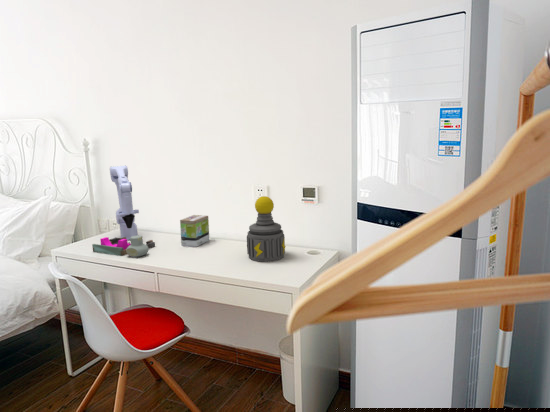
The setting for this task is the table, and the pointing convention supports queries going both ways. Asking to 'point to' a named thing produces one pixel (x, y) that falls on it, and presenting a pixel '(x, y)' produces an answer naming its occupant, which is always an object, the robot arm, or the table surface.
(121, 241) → the toy block
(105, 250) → the trap channel
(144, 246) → the air freshener
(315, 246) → the table surface
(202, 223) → the tea box
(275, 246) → the decorative lamp
